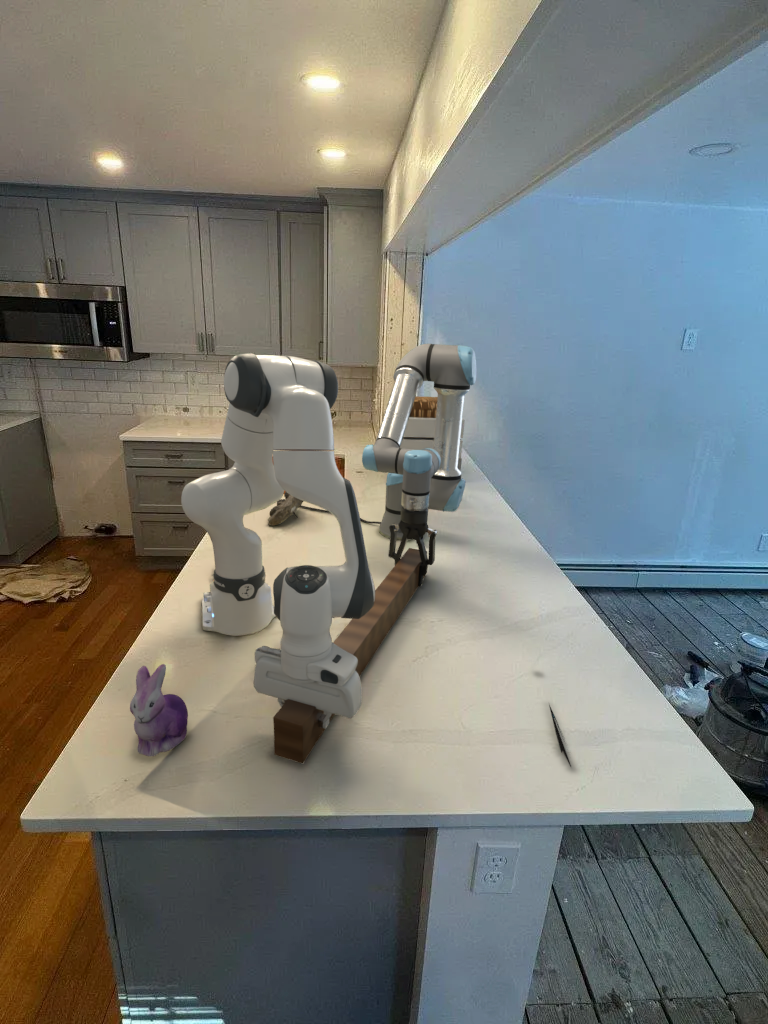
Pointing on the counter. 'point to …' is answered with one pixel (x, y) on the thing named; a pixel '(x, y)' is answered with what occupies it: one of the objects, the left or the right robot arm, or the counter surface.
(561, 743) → the feather
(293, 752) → the bar
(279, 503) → the fossil
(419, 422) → the transformer
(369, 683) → the counter surface
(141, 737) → the figurine
